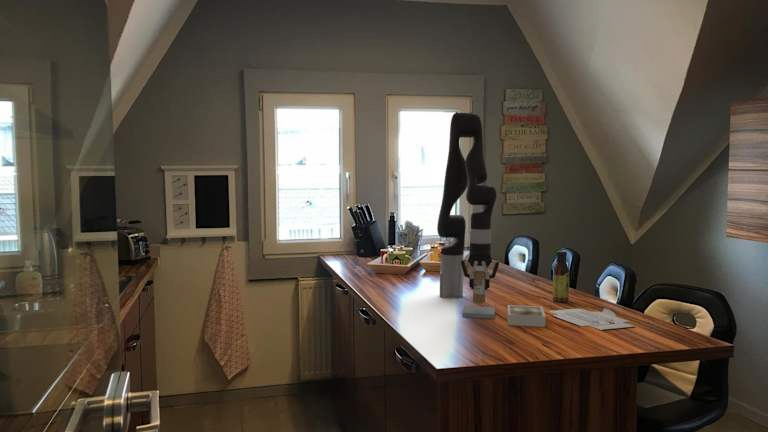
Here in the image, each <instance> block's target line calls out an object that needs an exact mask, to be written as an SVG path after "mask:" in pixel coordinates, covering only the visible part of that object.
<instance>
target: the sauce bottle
mask: <svg viewBox="0 0 768 432" xmlns="http://www.w3.org/2000/svg"><path fill="white" fill-rule="evenodd" d="M555 254H556V255H555V256H556V263H555V264H554V266H553V272H552V300H553V301H554V302H558V303H565V302H566V303H567V302H569V297H570V269H569V266H568V262H567V256H568V251H567V250H557V251H556V252H555Z"/></svg>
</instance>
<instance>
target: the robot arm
mask: <svg viewBox="0 0 768 432" xmlns="http://www.w3.org/2000/svg"><path fill="white" fill-rule="evenodd" d="M461 138H466V139H467V138H468V139H469V138H470V139H471V138H472V141H473V143H472V146H471V147H470V150H469V152H468V154H467V155H466V156H465V157H466V158H465V157H464V156H463V153H462V150H461V147H460V139H461ZM483 139H484V138H483V125H482V118H481V117H480V115H479V114H478V113H473V112H454V113H453V114H452V116H451V119H450V128H449V144H448V155H447V162H446V168H445V174H444V181H443V182H444V184H443V191H442V192H443V193H442V200H441V205H440V210H439V215H438V219H437V226H436V228H437V235H438V236H439V237H440V238H443V239H446V238H452V239H453V240H452V241H451V242H450V243H448V244H445V245H443V246H441V248H440V273H439V297H443V298H449V299H452V298H453V299H455V298H456V299H457V298H462V297H463V296H464V278H468V279H469V283H468V284H469V288H470V290H473V283H474V282H473V281H474V273H475V266H477V265H478V266H484V272H485V275H486V284H485V291H488V289H489V288H490V285H491V284H490V282H491V281H490V280H491V279H494V278H496V274H497V271H498V268H499V265H500V261H498V260H494V259H492V256H491V255H492V232H491V229H492V228H491V223H492V220H491V219H492V214H493V210H494V206H495V203H496V201H497V197H498V196H497V195H498V194H497V190H496V188H495V187H494V186H493V185H490V184H488V185H486V184H485V185H484V183H485V182H486V181H487V180H488V172H487V168H486V163H485V157H484V140H483ZM482 184H483V185H482ZM465 192H466V193H465ZM464 193H465V199H466V201H467V203H468V204H470V205H471V206H483V208H482V209H480V210H479V211H474V212H472V213H471V214H470V229H469V230H470V232H469V249H468V250H469V251H468V252H469V255H468V258H466V259H464V257H465V255H464V253H465V245H466V244H465V243H466V239H465V238H466V225H467V224H466V219H465V217H464V215H462V214H451V213H452V210H453V207H454V205H455V204H456V203H457V202H458V200H459V199H460V198H461V196H462V195H464ZM468 263H469V264H470V266H471V271H470V273H468V268H467V266H468ZM491 264H492V267H493V269H492V273H491V274H490V273H489V269H488V268H489V267H490V265H491ZM473 269H474V270H473Z"/></svg>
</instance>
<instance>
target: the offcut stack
mask: <svg viewBox="0 0 768 432" xmlns="http://www.w3.org/2000/svg"><path fill="white" fill-rule="evenodd" d="M513 314H517V315H536V316H538V311H537V309H529V308H513Z"/></svg>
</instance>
